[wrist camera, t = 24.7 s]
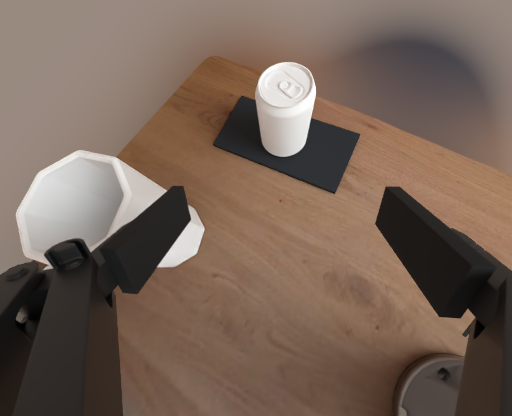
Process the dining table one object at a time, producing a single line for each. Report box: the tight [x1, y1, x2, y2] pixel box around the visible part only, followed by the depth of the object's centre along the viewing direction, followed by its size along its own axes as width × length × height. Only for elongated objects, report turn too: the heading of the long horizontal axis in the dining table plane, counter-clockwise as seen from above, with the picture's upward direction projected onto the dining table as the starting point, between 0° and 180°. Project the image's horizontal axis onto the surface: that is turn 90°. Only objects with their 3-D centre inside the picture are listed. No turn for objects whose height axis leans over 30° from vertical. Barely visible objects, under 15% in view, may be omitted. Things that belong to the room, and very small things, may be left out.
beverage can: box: [255, 62, 316, 157], centre depth 32 cm, size 8×8×12 cm
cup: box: [16, 150, 205, 267], centre depth 27 cm, size 11×11×18 cm
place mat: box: [213, 96, 360, 194], centre depth 38 cm, size 24×12×1 cm, turn 64°
